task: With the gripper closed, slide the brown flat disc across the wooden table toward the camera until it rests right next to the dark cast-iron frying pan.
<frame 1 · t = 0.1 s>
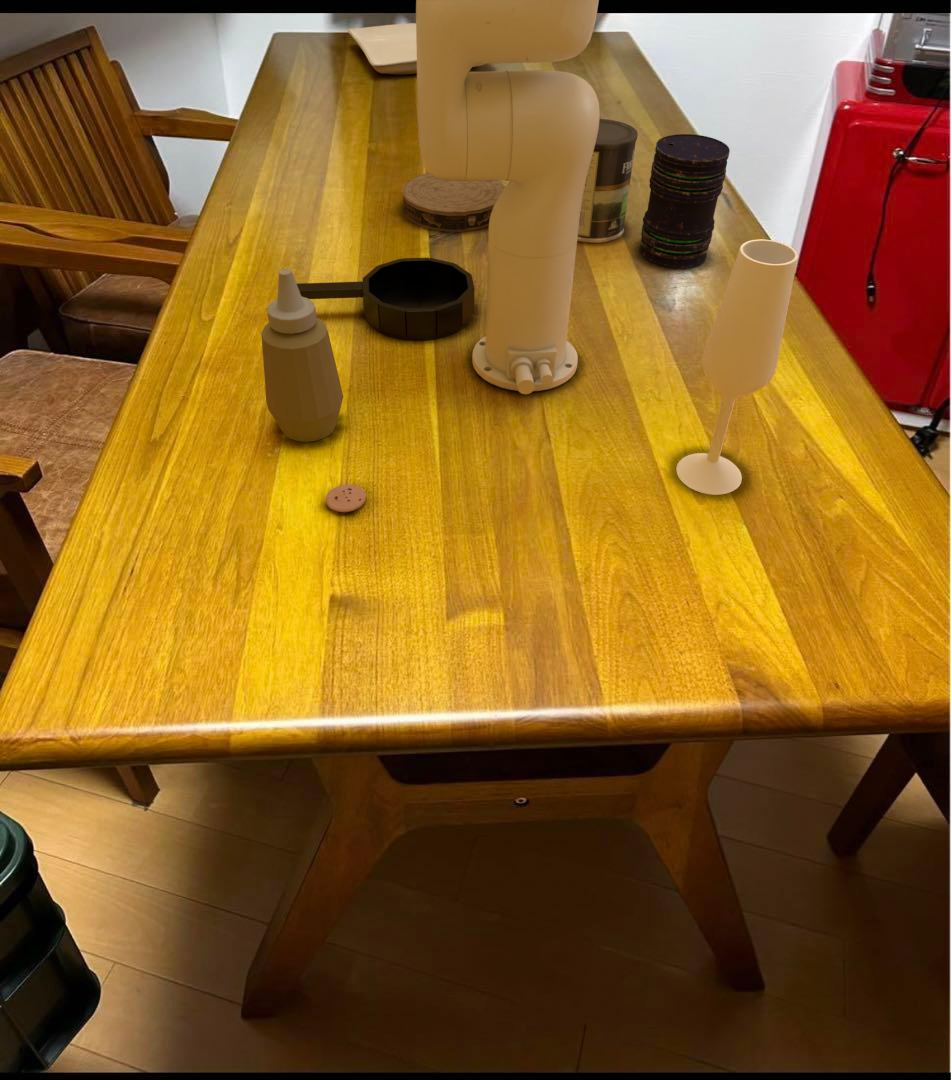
frying pan: (419, 311, 110), on the table
cookie: (346, 502, 83), on the table
squeeze bottle: (309, 428, 92), on the table
brown flat disc: (454, 210, 132), on the table
champagne flute: (708, 474, 87), on the table
coffee can: (589, 229, 128), on the table
square plate: (420, 59, 189), on the table
dark brown cylinder: (672, 255, 122), on the table
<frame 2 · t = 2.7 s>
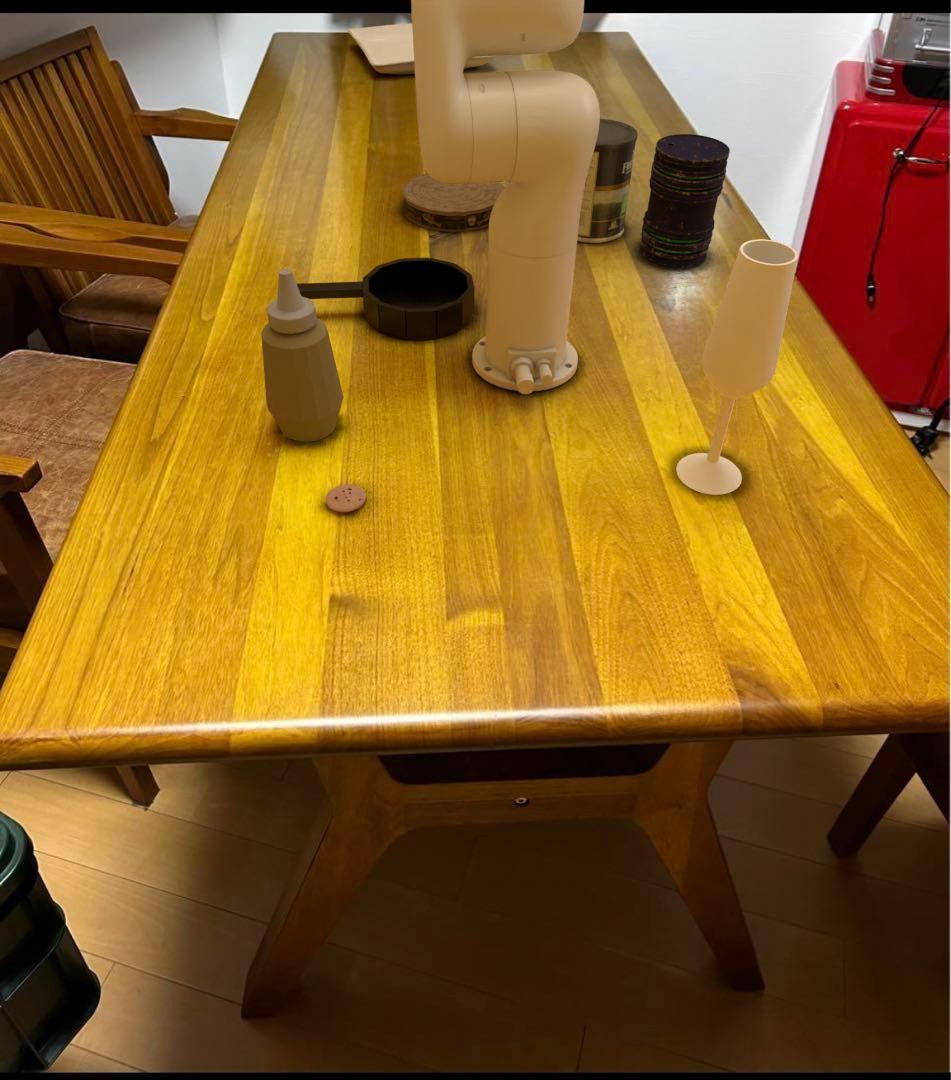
hand: (447, 66, 128), 17 cm above the table, tool pointing down, fingers closed
nothing on the table moved.
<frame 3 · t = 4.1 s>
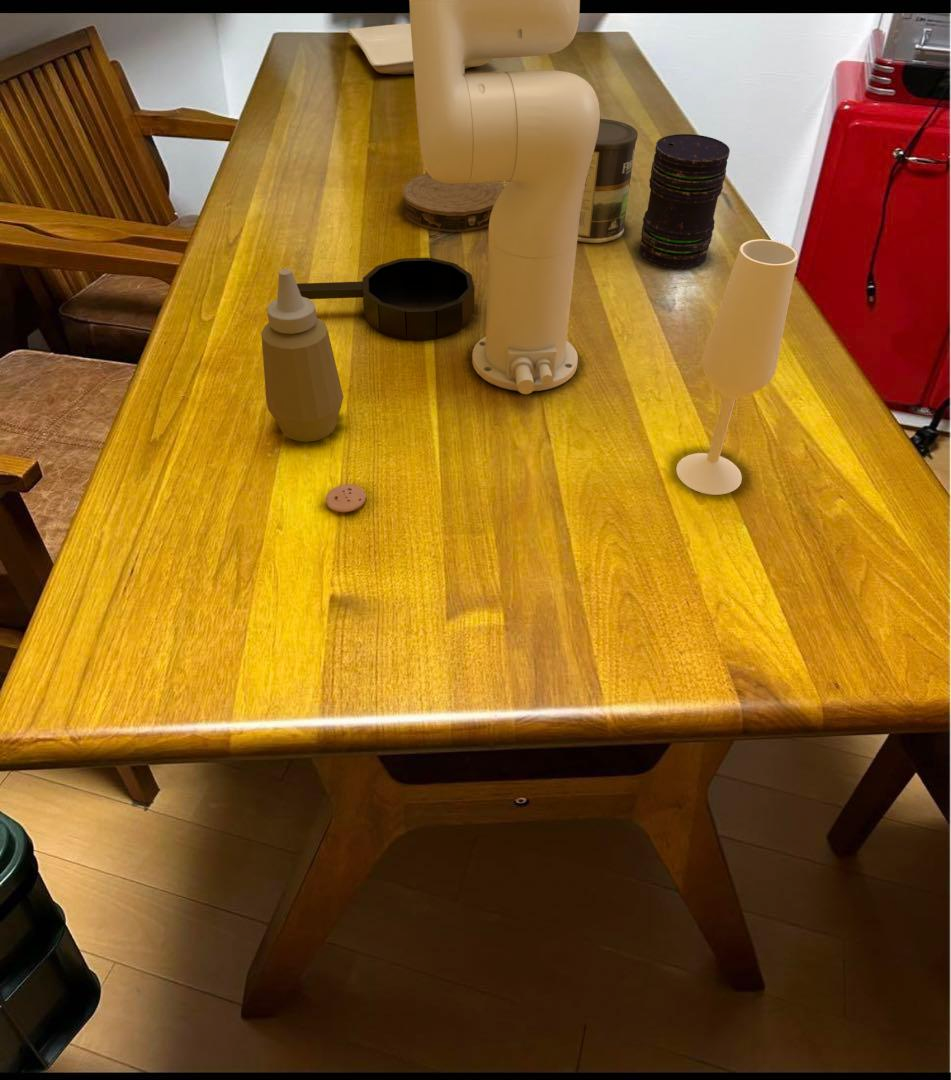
hand: (448, 141, 136), 6 cm above the table, tool pointing down, fingers closed
nothing on the table moved.
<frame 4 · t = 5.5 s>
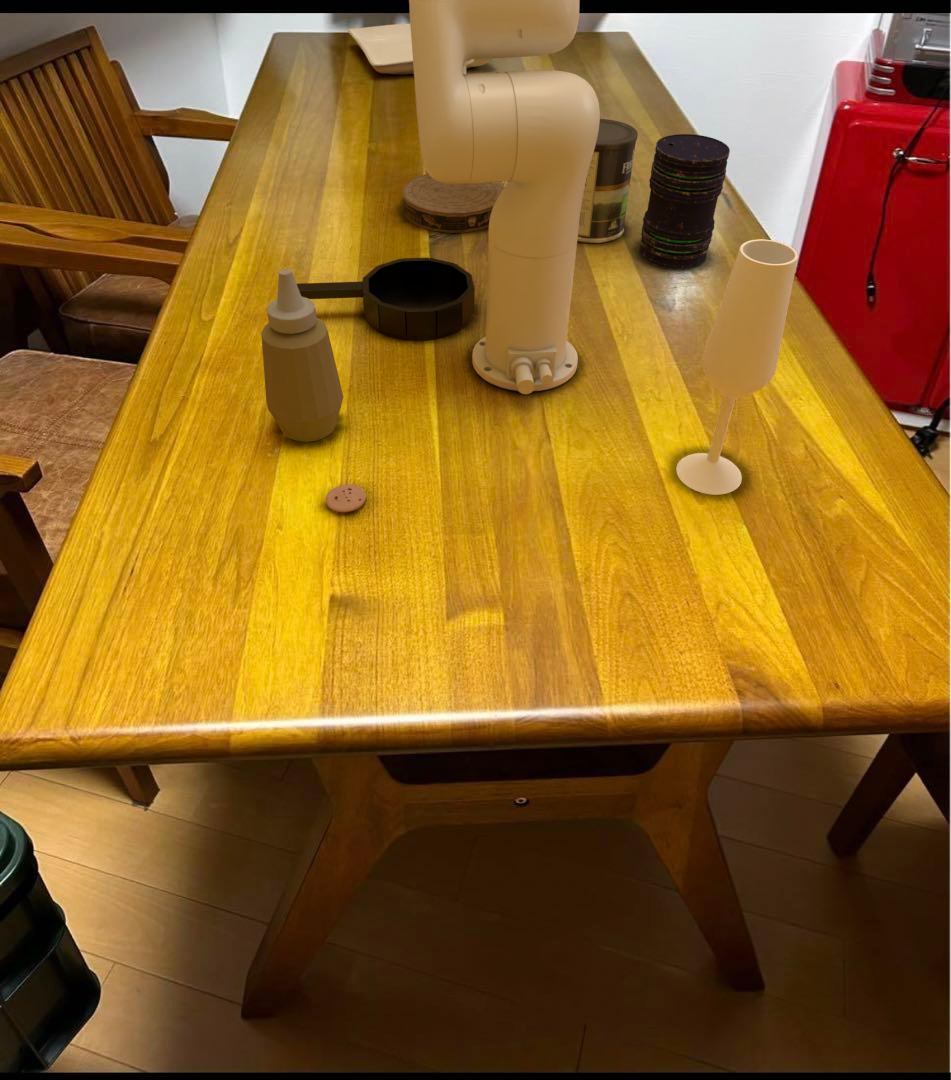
hand: (449, 174, 137), 2 cm above the table, tool pointing down, fingers closed
brown flat disc: (454, 211, 132), on the table, touching gripper
everything else where it was.
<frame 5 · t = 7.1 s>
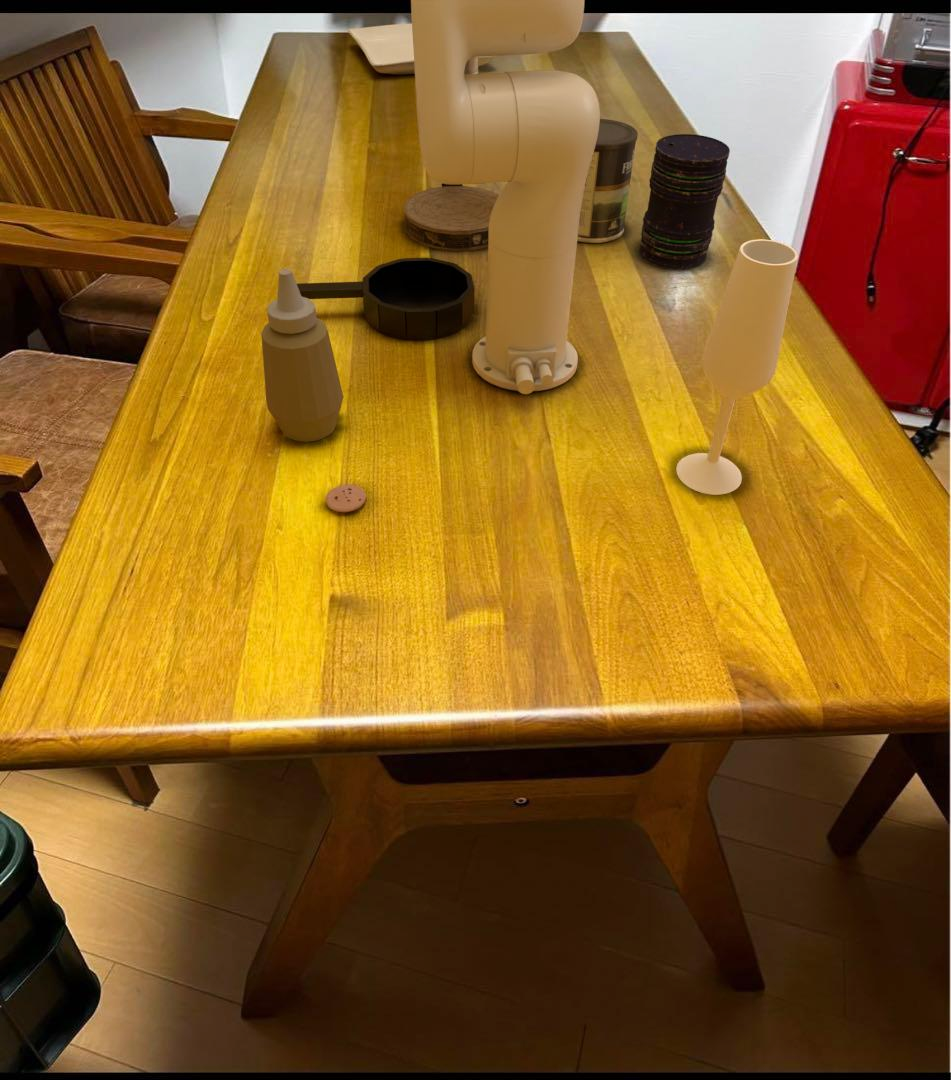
hand: (452, 188, 133), 2 cm above the table, tool pointing down, fingers closed
brown flat disc: (457, 228, 128), on the table, touching gripper
everything else where it was.
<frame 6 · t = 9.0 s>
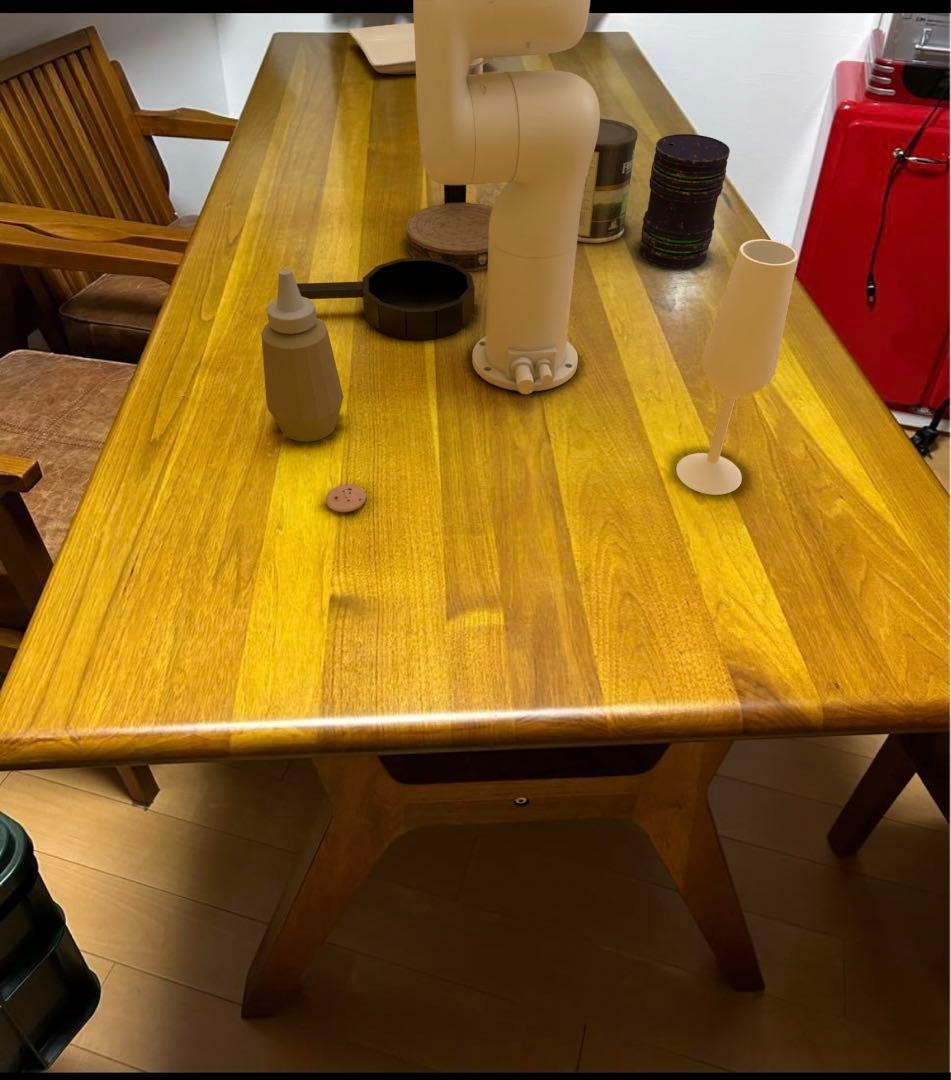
hand: (455, 205, 129), 2 cm above the table, tool pointing down, fingers closed
brown flat disc: (461, 246, 123), on the table, touching gripper
everything else where it was.
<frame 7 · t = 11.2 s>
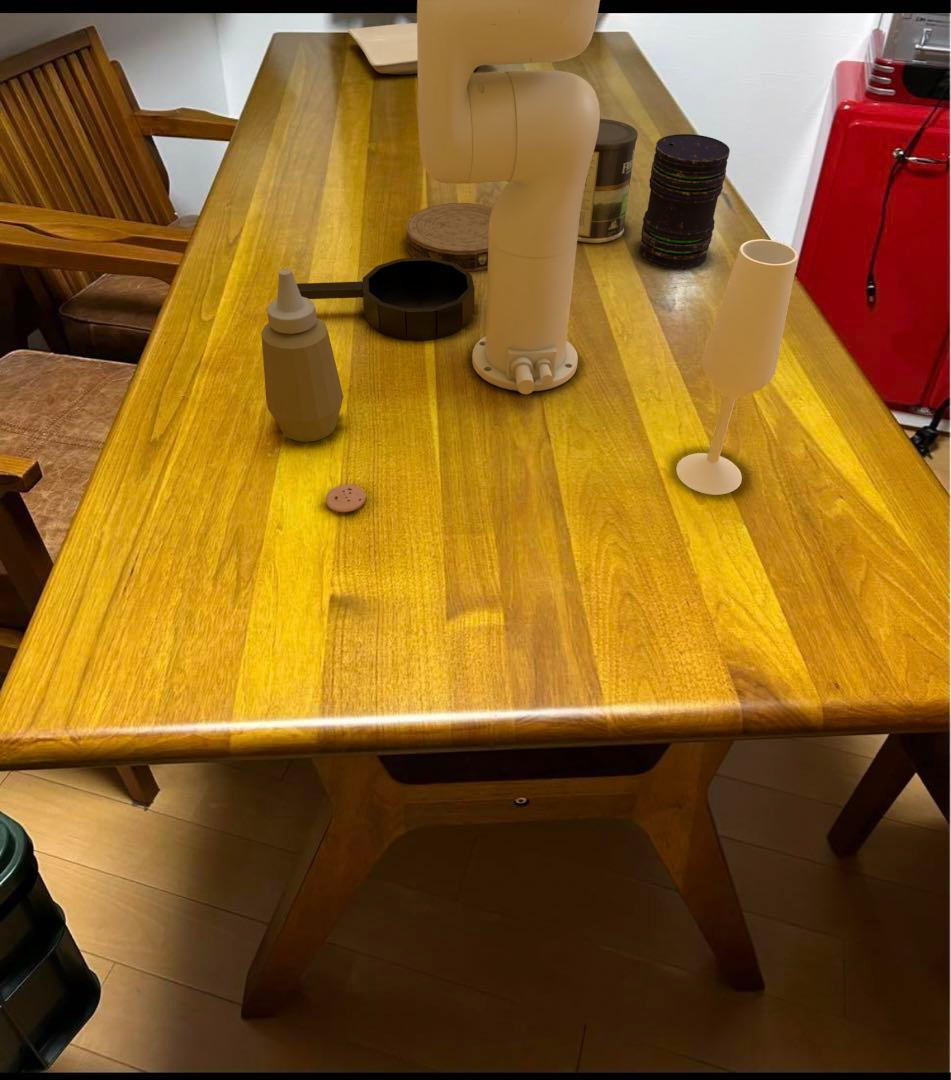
hand: (464, 70, 118), 20 cm above the table, tool pointing down, fingers closed
brown flat disc: (461, 247, 123), on the table
everything else where it was.
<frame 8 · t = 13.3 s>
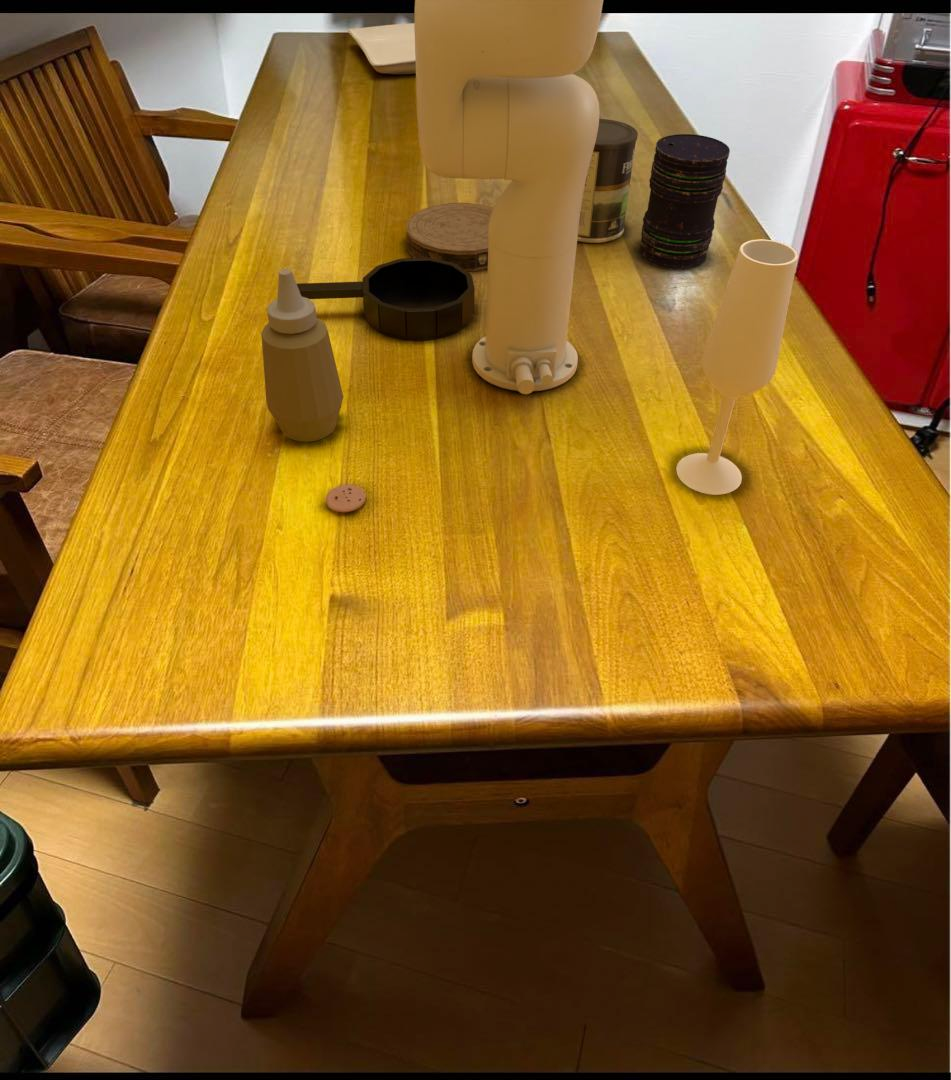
hand: (519, 3, 108), 29 cm above the table, tool pointing down, fingers closed
nothing on the table moved.
at the end: brown flat disc 19.8 cm from the frying pan (horizontally); brown flat disc moved 12.5 cm from its start; brown flat disc tilted 0° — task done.
